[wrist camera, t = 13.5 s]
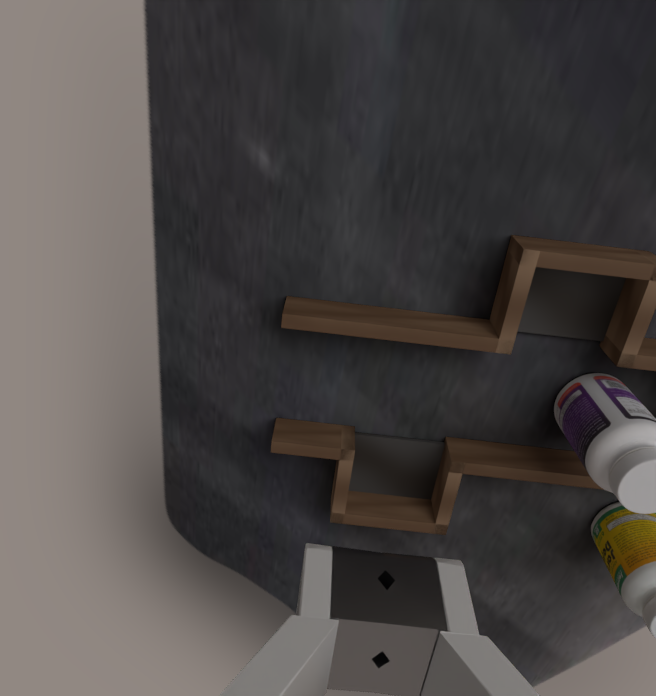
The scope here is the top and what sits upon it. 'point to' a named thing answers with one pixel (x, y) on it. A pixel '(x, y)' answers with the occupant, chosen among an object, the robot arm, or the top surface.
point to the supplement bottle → (630, 556)
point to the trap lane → (483, 335)
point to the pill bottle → (611, 437)
